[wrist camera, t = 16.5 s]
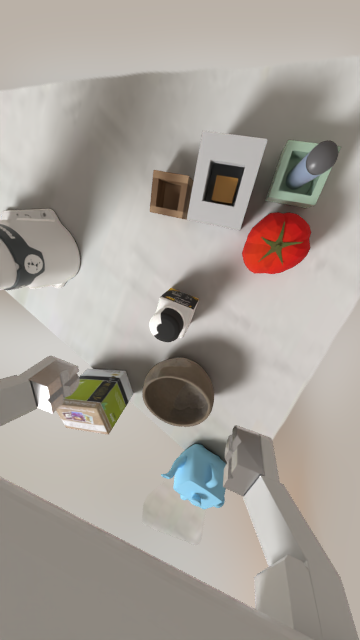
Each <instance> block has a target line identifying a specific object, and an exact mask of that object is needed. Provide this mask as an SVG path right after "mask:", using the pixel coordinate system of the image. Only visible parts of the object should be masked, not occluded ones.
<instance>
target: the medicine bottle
mask: <svg viewBox="0 0 360 640" xmlns="http://www.w3.org/2000/svg"><path fill="white" fill-rule="evenodd" d="M198 302H199V299H198V298H196V297H193V296H191V295H188V294H185V293H183V292H180V291H178V290H175V289H173V288H170V289H169V290H168V291H167V292H166V293H164V294H163V295H162V296H161V297H160V299H159V302H158V306H157V310H156V314H155V315H154V316H153V317H152V318H151V320H150V323H149V327H150V330H151V332H152V334H153V335H154V336H155V337H156V338H157V339H159V340H161V341H164V342H171V341H174V340H176V339H177V338H178V337H180V338H183V337H184V335H185V333H186V331H187V329H188V327H189V325H190V323H191V320H192V318H193V315H194V312H195V310H196V307H197V304H198Z"/></svg>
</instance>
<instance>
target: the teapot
mask: <svg viewBox="0 0 360 640" xmlns="http://www.w3.org/2000/svg"><path fill="white" fill-rule="evenodd" d="M225 466H226V463H225V462H224V461H222V460H221V459H220V457H219V456H218V455H214V454H213V453H211V452H210V451H208V450H207V449H205V447H204V446H203V445H200V444H194V445H192V446H191V447H189V448H188V449H186V450H185V451H184V452H183V453H181V455H180V456H179V457H178V458H177V459H176V460H175V461H174V463H173V465H172V468H171V470H170V471H169V472H168V473H167V474H161V475H162V476H163V477H164V478H167V479H171V478H172V477H173V476H174V475H175V478H174V490H175V491H176V492H178V493H179V494H180V497H181V499H183V500H187V499H188V500H189V501H191V503H192V504H193V505H195V506H199V507H200V508H202V509H207V508H210V507H213V506H214V507H216V508H220V507H222V506H223V504H224V494H225V489H226V488H224V487H223V476H224V468H225Z"/></svg>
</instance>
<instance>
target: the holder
mask: <svg viewBox="0 0 360 640" xmlns="http://www.w3.org/2000/svg"><path fill="white" fill-rule="evenodd" d="M192 187H193V180H192V179H191V178H190V177H189V176H186V175H180V174H175V173H169V172H163V171H157V170H154V172H153V182H152V193H151V203H150V212H153V213H158V214H163V215H167V216H172V217H177V218H182V219H186V220H187V215H188V209H189V204H190V198H191V193H192Z"/></svg>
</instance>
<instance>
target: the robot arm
mask: <svg viewBox="0 0 360 640" xmlns="http://www.w3.org/2000/svg"><path fill="white" fill-rule="evenodd" d="M79 266H80V256H79V251H78V247H77V245H76V242H75V240H74V239H73V237H72V235H71V234H70V233H69V231H68V230H67V229H66V228H65V227H64V226H63V225H62V224H61V223H60V221H59V219H58V217H57V216H56V214H55V212H54V211H53V210H52V209H30V210H6V211H2V214H1V220H0V290H12V289H19V288H22V287H25V286H27V287H29V288H31V289H38V288H43V287H47V286H54V287H56V288H62V287H63V286H64V285H65V283H66V282H67V281H68V280H70V279H72V278H73V277H74V276H75V275H76V274H77V272H78V270H79ZM78 371H79V369H78V366H76V365H73V364H71V363H68V362H66V361H64V360H61V359H59V358H56V357H53V356H49V357H46V358H45V359H43V360H42V361H40V362H39V363H38V364H36V365H34V366H33V367H31V368H30V369H28V370H27V371H25V372H24V373H22V374H20V375H19V376H17V375H14V376H10V377H7V378H3V379H0V426H2V425H4V424H6V423H8V422H10V421H12V420H14V419H16V418H18V417H21V416H23V415H25V414H27V413H29V412H31V411H33V410H35V409H37V408H40V409H42V410H45V411H47V412H50V413H54V411H56V410H57V409H58V408H59V407H60V406H61V405H62V404H63V403H64V399H65V397H68V396H71V395H72V394H73V393H74V392H75V391H76V389H77V387H78V386H79V382H80V379H79V376H78V375H77V372H78ZM225 460H226V462H227V464H226V466H225V468H224V476H223V487H224V488H226V489H228V490H231V491H233V492H235V493H237V494H239V495H241V496H244V497H243V499H244V501H245V504H246V507H247V510H248V512H249V515H250V518H251V520H252V523H253V526H254V528H255V531H256V534H257V536H258V539H259V541H260V544H261V546H262V550H263V552H264V555H265V558H266V560H267V563H268V566H269V567H268V568H266V569H265V570H263V571H262V572H260V573H258V574H257V575H256V576H255V577H254V580H255V604H256V609H254V608H252V607H250V606H248V605H247V604H245V603H243V602H241V601H239V600H237V599H235V598H233V597H231V596H229V595H227V594H225V593H224V592H222V591H220V590H218V589H216V588H214V587H212V586H210V585H208V584H206V583H204V582H202V581H200V580H198V579H197V578H195V577H193V576H191V575H189V574H187V573H185V572H183V571H181V570H179V569H177V568H175V567H173V566H172V565H170V564H168V563H166V562H164V561H162V560H160V559H158V558H156V557H154V556H152V555H150V554H148V553H147V552H145V551H143V550H141V549H139V548H137V547H135V546H133V545H131V544H129V543H127V542H125V541H123V540H122V539H119V538H118V537H116V536H114V535H112V534H110V533H108V532H106V531H104V530H102V529H100V528H98V527H97V526H94V525H92V524H90V523H89V522H87V521H85V520H83V519H81V518H79V517H77V516H75V515H73V514H72V513H70V512H68V511H66V510H64V509H62V508H60V507H58V506H56V505H54V504H52V503H50V502H48V501H46V500H44V499H43V498H41V497H39V496H37V495H35V494H33V493H31V492H29V491H27V490H25V489H23V488H22V487H20V486H18V485H15V484H14V483H12V482H10V481H8V480H6V479H4V478H2V477H0V640H359V638H358V635H357V631H356V628H355V625H354V621H353V618H352V614H351V611H350V608H349V604H348V601H347V597H346V594H345V591H344V587H343V584H342V581H341V577H340V576H339V574H338V572H337V571H336V569H335V568H334V566H333V564H332V563H331V561H330V559H329V558H328V556H327V555H326V553H325V551H324V550H323V548H322V547H321V545H320V543H319V542H318V540H317V538H316V537H315V535H314V533H313V532H312V530H311V528H310V527H309V525H308V524H307V522H306V520H305V519H304V517H303V515H302V514H301V512H300V511H299V509H298V507H297V505H296V504H295V502H294V501H293V499H292V497H291V496H290V494H289V492H288V491H287V489H286V488H285V486H284V484H282V483H280V482H279V476H278V470H277V464H276V458H275V453H274V446H273V441H272V439H271V438H270V437H267V436H264V435H261V434H258V433H257V432H254V431H251V430H248V429H246V428H243V427H240V426H237V425H236V426H234V428H233V434H232V435H230V436H229V438H228V440H227V443H226V448H225Z"/></svg>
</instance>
